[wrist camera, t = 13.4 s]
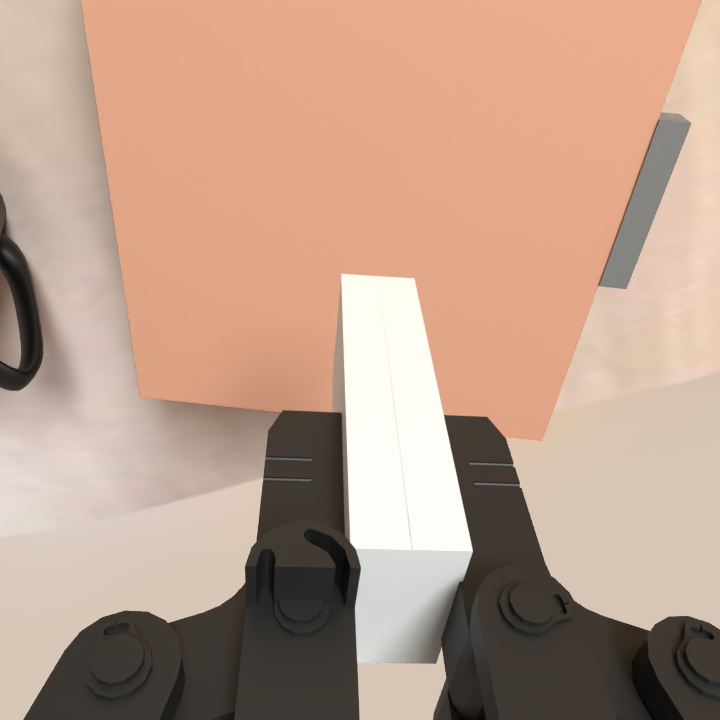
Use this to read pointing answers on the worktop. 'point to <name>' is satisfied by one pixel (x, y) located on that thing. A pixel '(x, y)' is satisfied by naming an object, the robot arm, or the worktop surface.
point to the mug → (20, 313)
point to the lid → (379, 183)
